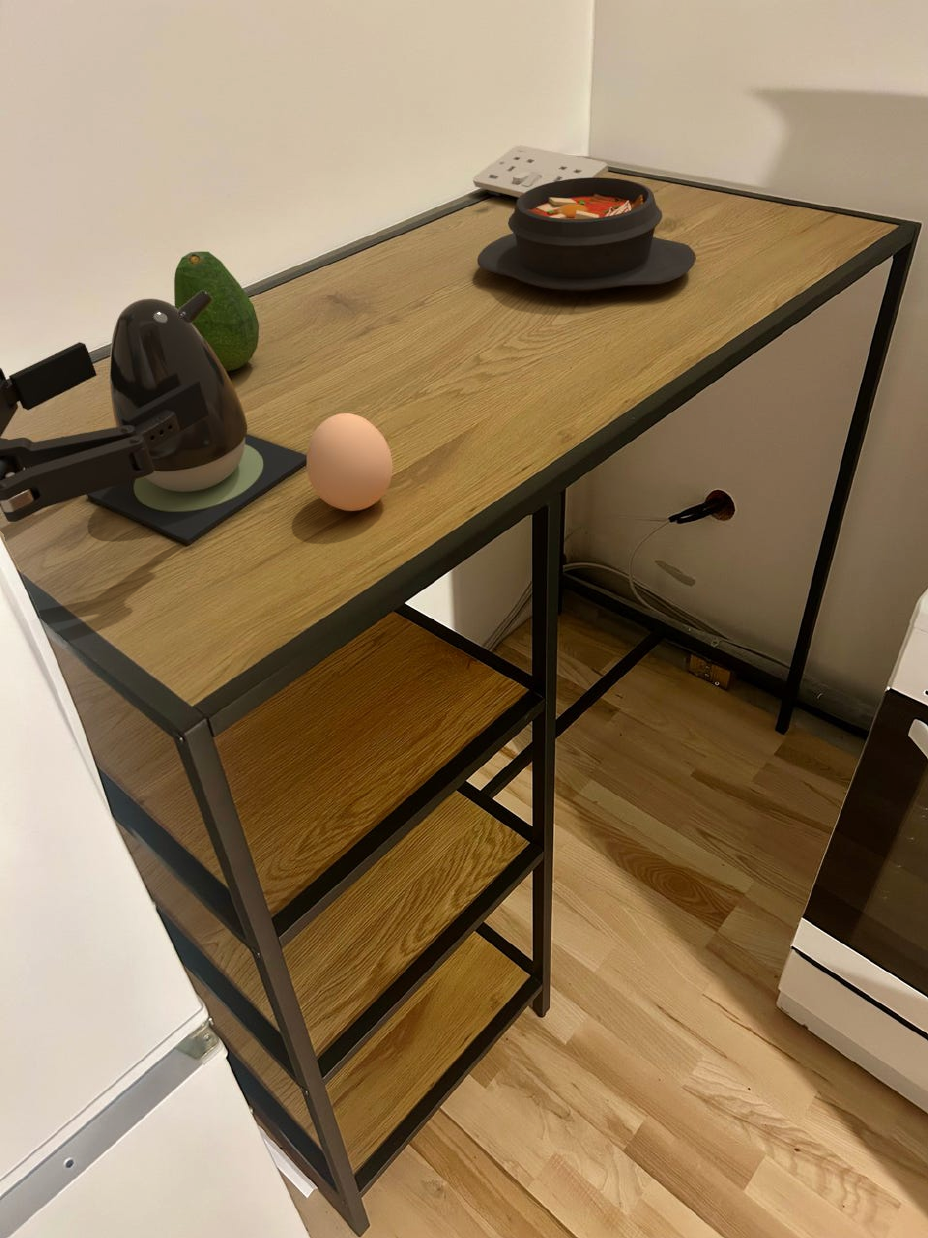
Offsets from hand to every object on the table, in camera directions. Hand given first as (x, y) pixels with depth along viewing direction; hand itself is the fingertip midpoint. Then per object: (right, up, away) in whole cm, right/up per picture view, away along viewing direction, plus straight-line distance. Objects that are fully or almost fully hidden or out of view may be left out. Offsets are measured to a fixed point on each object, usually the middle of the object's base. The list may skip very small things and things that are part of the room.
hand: (142, 376), depth 71 cm
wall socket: (+35, +40, +57) cm, 78 cm away
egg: (+16, -10, +4) cm, 19 cm away
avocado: (+1, +7, +24) cm, 25 cm away
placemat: (+2, -7, +8) cm, 11 cm away
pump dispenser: (+2, -6, +8) cm, 10 cm away
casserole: (+39, +21, +36) cm, 57 cm away
